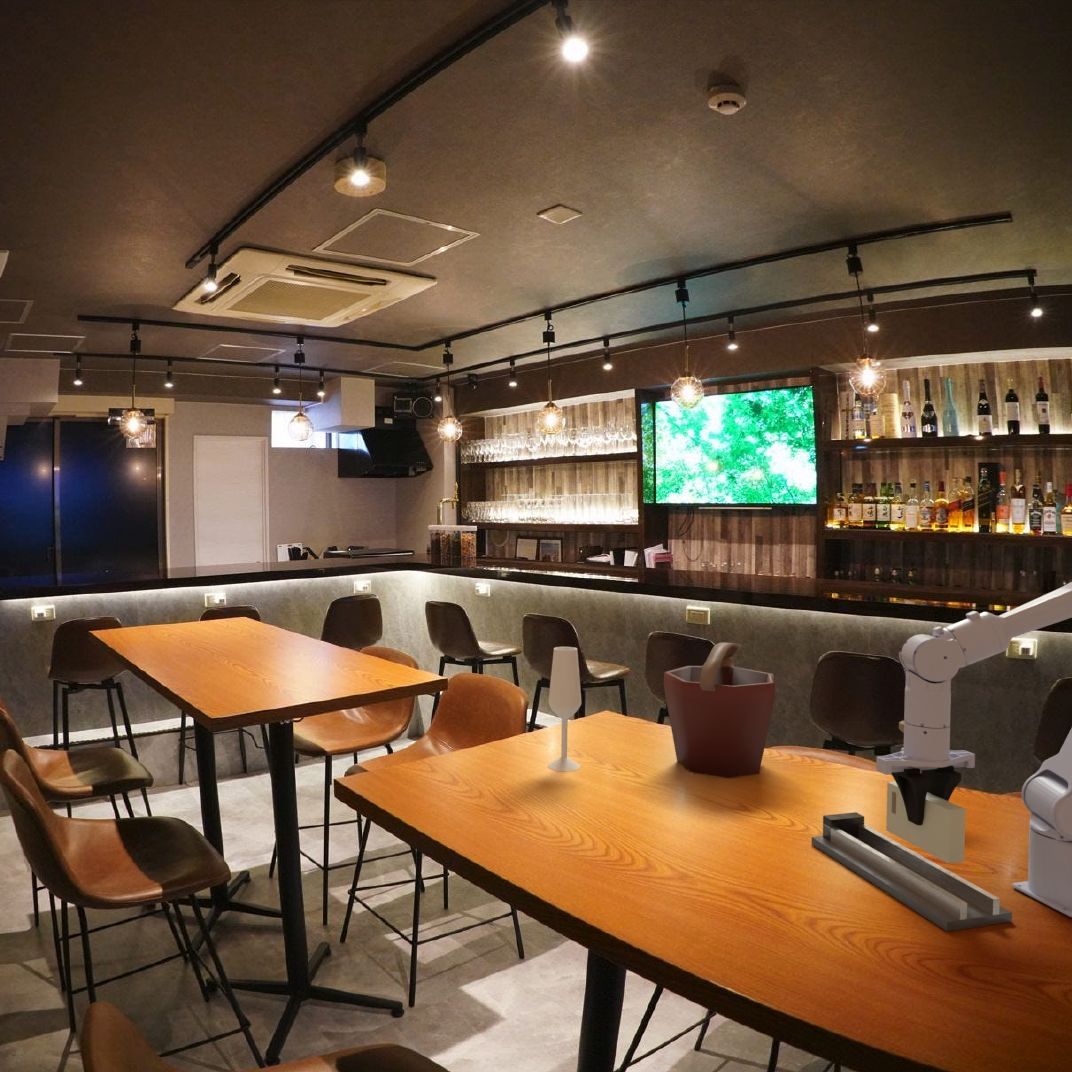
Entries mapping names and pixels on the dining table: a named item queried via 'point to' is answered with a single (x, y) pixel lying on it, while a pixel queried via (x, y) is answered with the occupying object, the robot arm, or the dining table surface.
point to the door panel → (929, 825)
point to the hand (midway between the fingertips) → (924, 821)
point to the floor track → (908, 875)
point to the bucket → (719, 714)
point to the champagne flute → (564, 698)
